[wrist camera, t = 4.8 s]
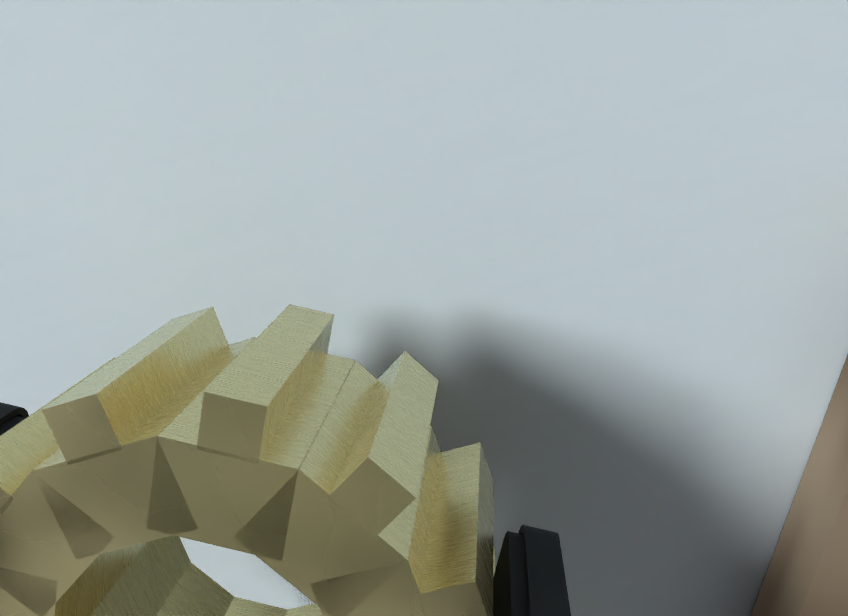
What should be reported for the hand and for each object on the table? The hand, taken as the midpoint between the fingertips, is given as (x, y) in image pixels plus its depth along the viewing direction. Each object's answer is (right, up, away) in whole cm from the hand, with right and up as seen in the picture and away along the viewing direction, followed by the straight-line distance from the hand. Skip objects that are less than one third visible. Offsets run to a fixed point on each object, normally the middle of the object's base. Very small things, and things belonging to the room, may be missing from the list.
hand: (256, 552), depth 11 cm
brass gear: (0, 0, +1) cm, 1 cm away
